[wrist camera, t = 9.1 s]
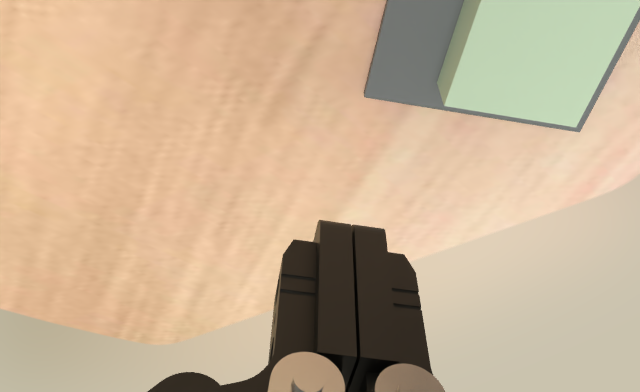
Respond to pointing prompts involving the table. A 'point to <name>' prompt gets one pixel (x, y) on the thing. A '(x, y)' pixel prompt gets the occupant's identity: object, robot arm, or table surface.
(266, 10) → the table surface
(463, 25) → the block
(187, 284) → the table surface
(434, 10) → the mat
